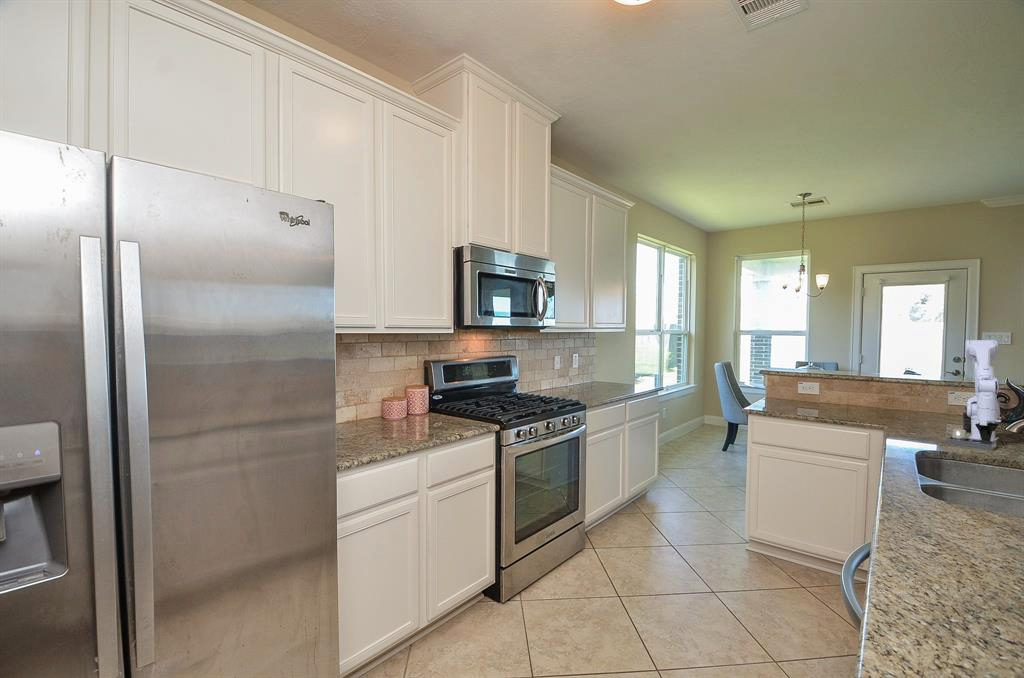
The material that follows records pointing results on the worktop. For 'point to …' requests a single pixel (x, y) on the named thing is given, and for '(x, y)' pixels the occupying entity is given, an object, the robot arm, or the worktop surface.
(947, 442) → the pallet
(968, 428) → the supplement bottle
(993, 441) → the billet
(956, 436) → the billet
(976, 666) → the worktop surface
